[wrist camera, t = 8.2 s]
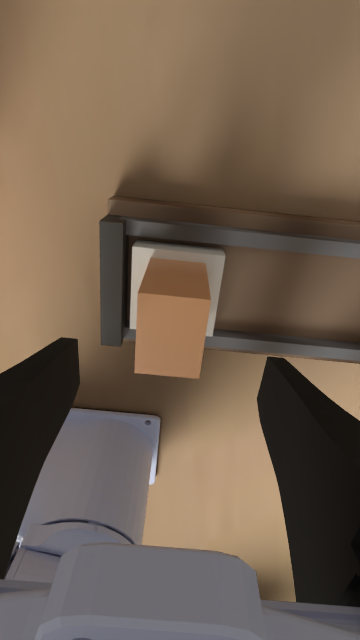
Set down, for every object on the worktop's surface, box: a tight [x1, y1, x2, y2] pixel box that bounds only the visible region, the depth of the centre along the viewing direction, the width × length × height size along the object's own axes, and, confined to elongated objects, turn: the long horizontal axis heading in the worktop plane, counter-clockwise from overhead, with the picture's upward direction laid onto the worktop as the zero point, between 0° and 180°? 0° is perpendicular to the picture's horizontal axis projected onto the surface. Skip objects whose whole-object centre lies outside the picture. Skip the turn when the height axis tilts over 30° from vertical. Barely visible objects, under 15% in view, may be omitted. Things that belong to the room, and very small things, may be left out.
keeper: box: [130, 240, 225, 379], centre depth 17 cm, size 5×5×6 cm
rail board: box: [100, 196, 360, 364], centre depth 20 cm, size 20×9×4 cm, turn 85°
